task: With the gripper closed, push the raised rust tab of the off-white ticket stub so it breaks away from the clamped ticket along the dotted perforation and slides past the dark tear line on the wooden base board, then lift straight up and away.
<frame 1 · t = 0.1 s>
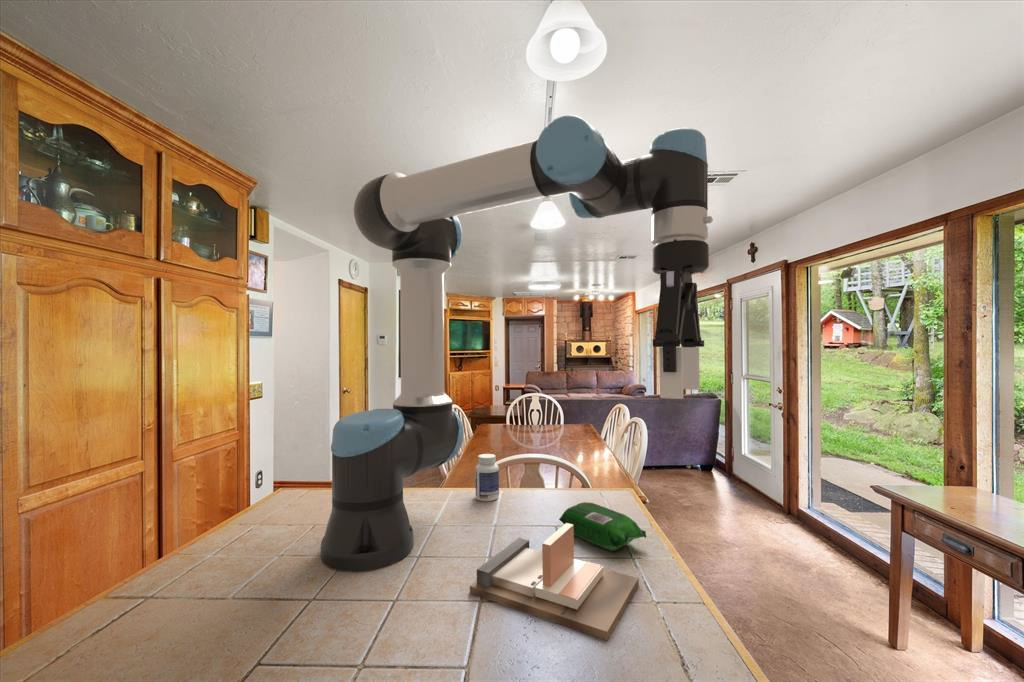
hand: (681, 393, 62), 28 cm above the counter, fingers open, 13 cm apart
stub: (570, 560, 62), point 5 cm above the counter, slide at 0.0 cm
pill bottle: (487, 498, 101), on the counter
wooden base board: (555, 588, 63), on the counter
snack package: (600, 541, 79), on the counter
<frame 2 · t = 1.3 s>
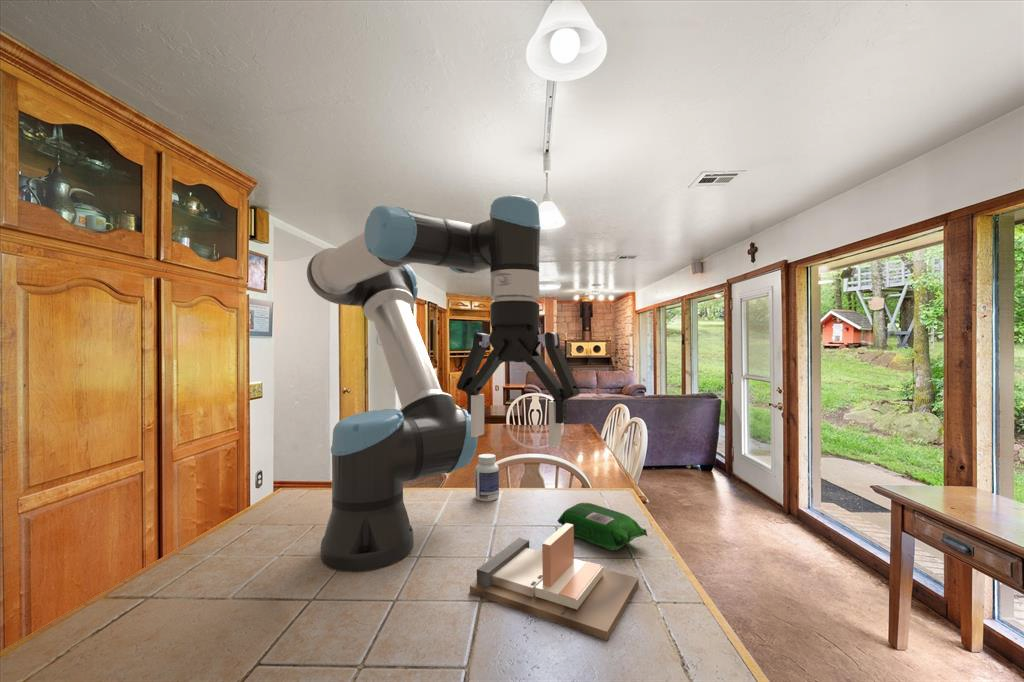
hand: (514, 440, 67), 20 cm above the counter, fingers open, 13 cm apart
nothing on the counter moved.
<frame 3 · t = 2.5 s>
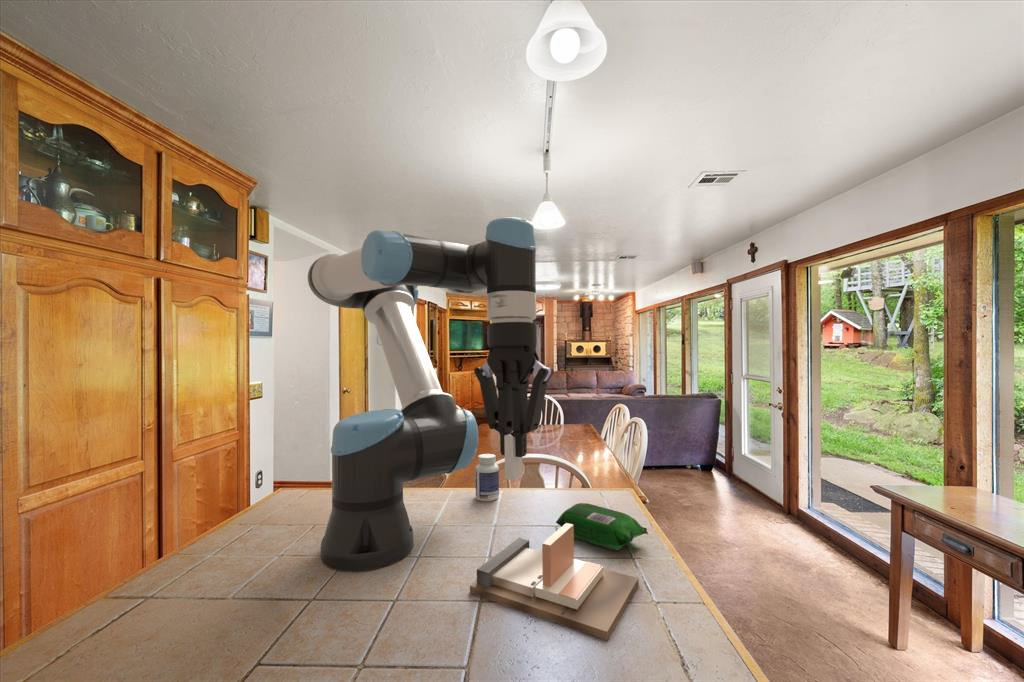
hand: (513, 477, 66), 15 cm above the counter, fingers closed
nothing on the counter moved.
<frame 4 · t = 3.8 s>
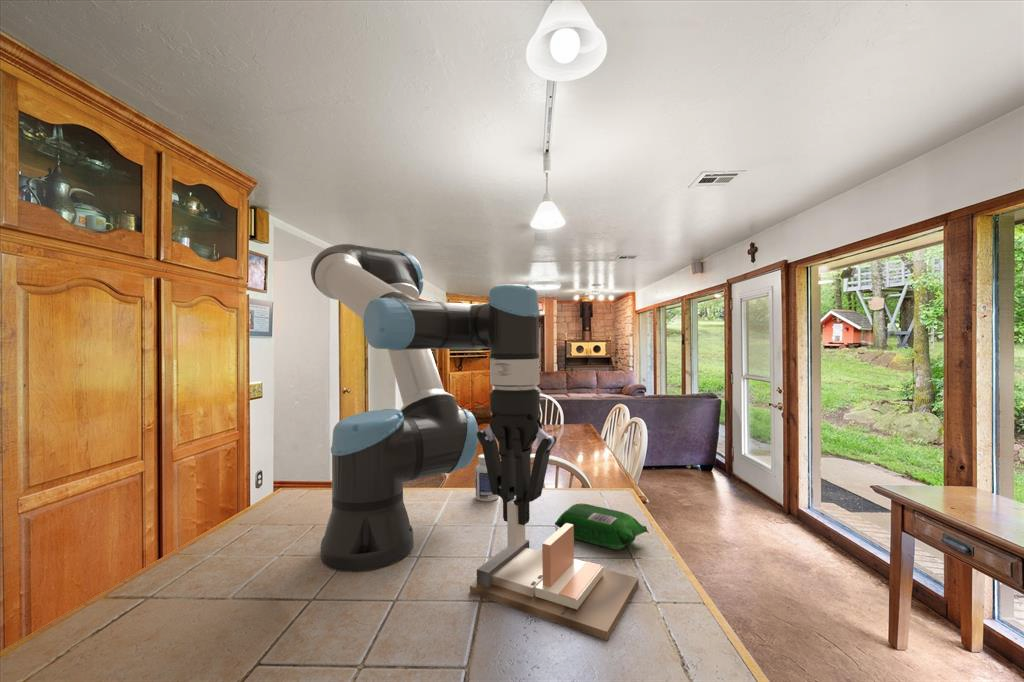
hand: (516, 544, 66), 5 cm above the counter, fingers closed
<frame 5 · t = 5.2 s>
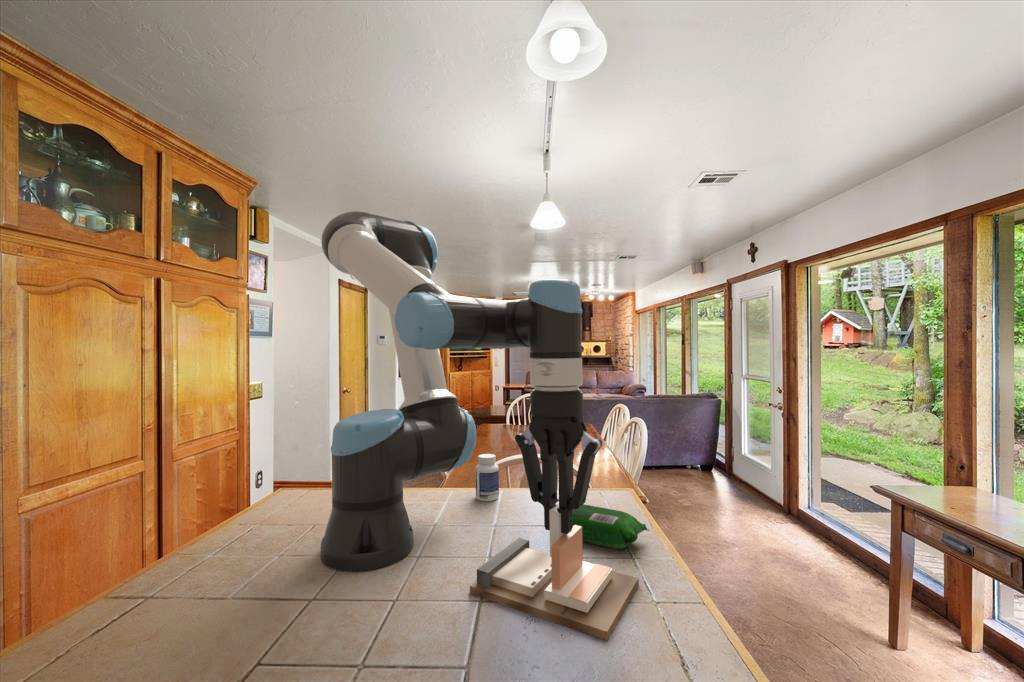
hand: (558, 553, 62), 5 cm above the counter, fingers closed
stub: (579, 562, 61), point 5 cm above the counter, slide at 1.4 cm, touching gripper
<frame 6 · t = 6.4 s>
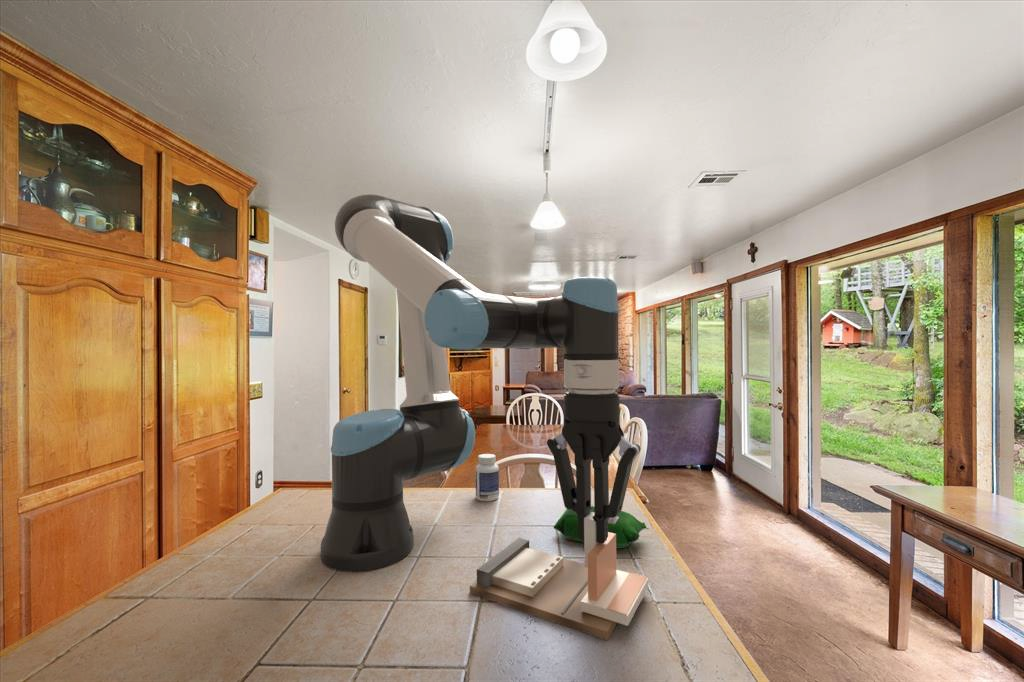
hand: (593, 563, 60), 5 cm above the counter, fingers closed
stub: (615, 572, 58), point 5 cm above the counter, slide at 6.5 cm, touching gripper
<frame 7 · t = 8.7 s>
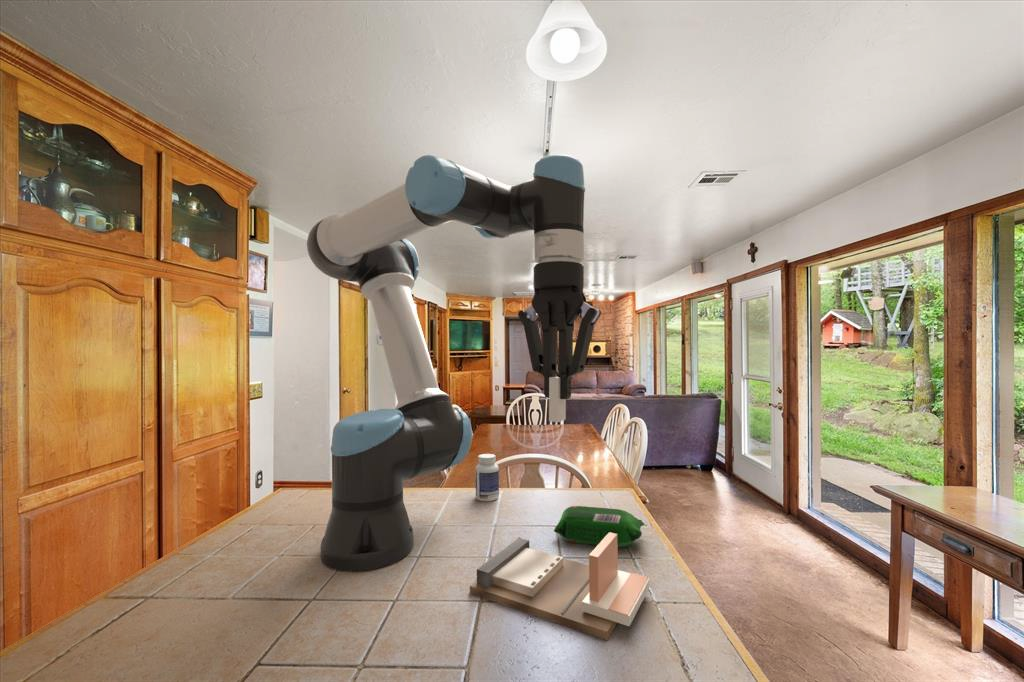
hand: (557, 420, 66), 24 cm above the counter, fingers closed
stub: (617, 572, 58), point 5 cm above the counter, slide at 6.7 cm
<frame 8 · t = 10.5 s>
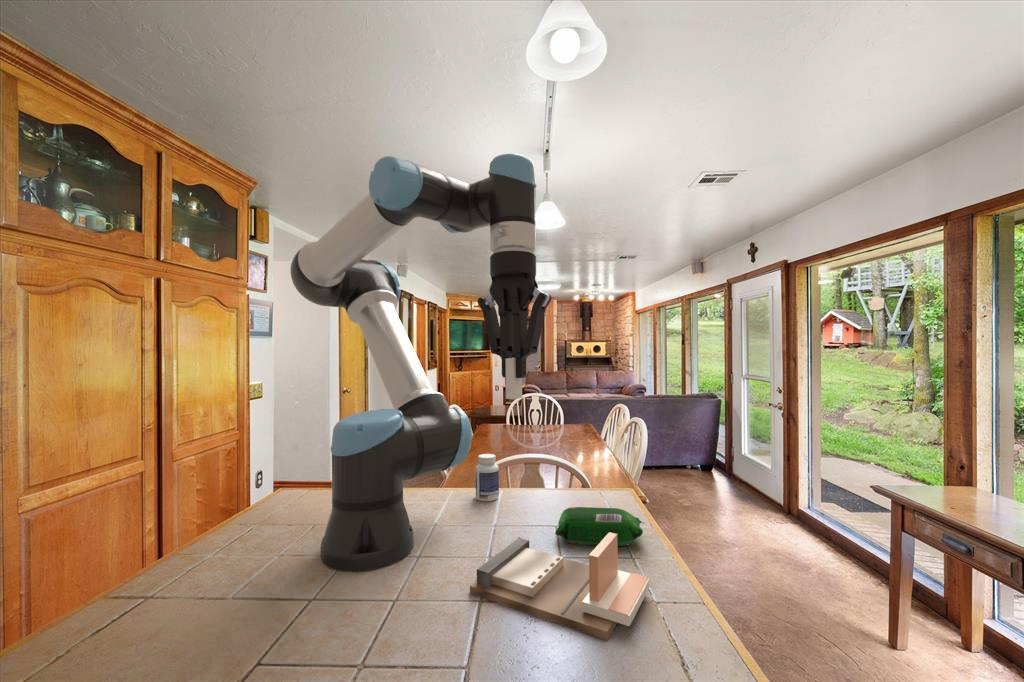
hand: (514, 398, 71), 26 cm above the counter, fingers closed
at the end: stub slide at 6.7 cm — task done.
